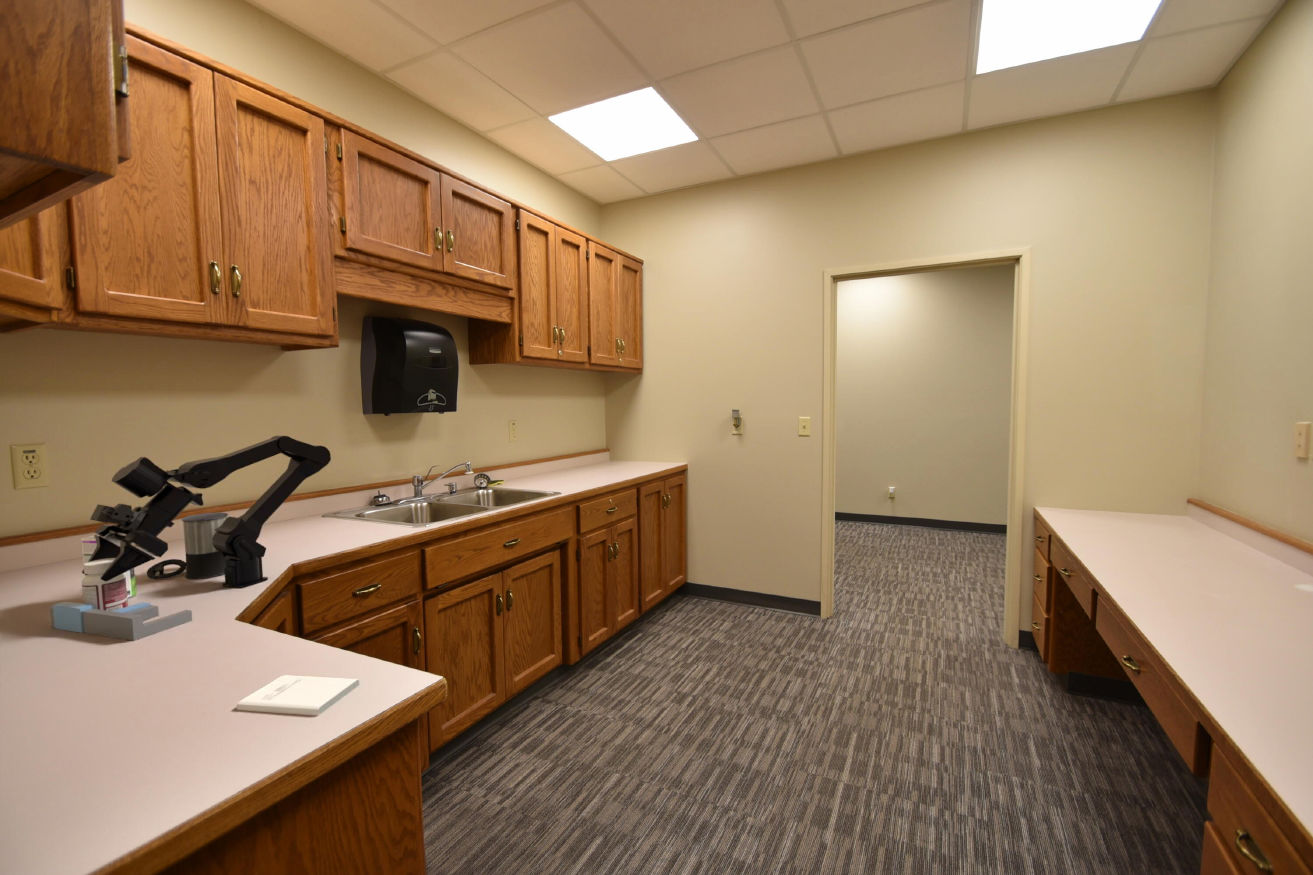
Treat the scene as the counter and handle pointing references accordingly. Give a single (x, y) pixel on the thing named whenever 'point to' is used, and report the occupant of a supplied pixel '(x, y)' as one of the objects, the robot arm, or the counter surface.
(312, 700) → the external hard drive
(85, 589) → the pill bottle
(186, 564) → the milk frother
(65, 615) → the divider rack
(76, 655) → the counter surface
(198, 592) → the counter surface
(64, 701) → the counter surface
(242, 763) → the counter surface
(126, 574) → the syrup box
